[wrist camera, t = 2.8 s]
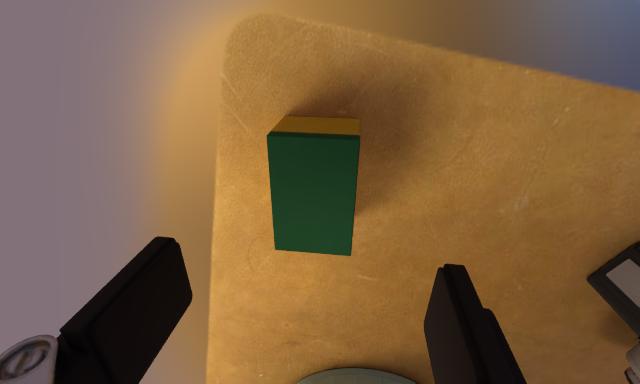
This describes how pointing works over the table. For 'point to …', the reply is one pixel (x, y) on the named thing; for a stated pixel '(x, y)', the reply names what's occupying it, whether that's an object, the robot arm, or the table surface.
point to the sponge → (314, 183)
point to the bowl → (354, 377)
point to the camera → (623, 298)
